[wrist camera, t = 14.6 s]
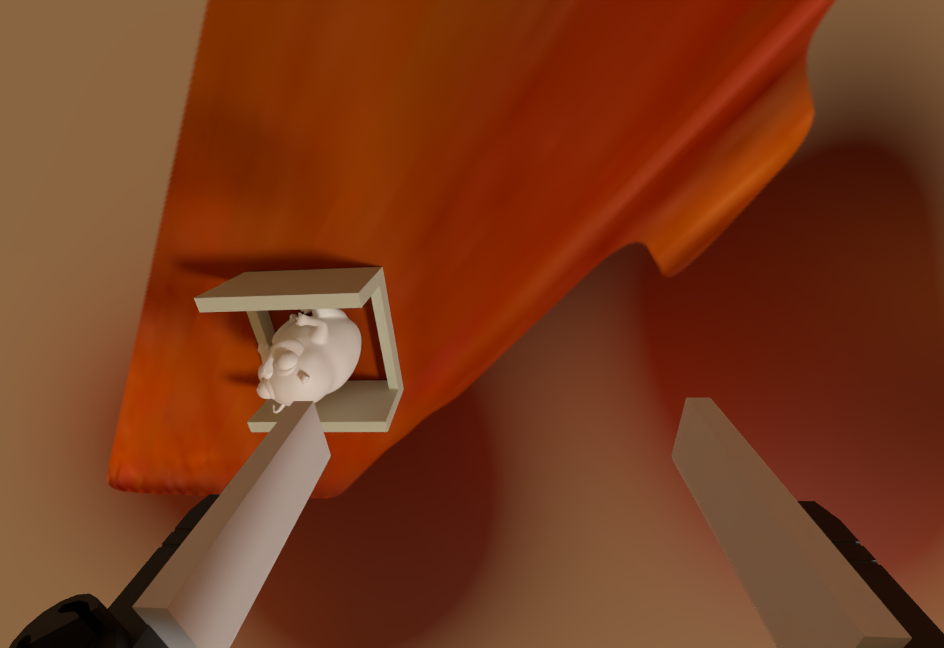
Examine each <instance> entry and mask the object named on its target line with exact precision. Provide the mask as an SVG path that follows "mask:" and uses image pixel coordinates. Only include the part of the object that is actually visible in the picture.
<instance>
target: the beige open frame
mask: <svg viewBox="0 0 944 648" xmlns="http://www.w3.org/2000/svg"><path fill="white" fill-rule="evenodd" d="M370 297H371V299H372V304H373V309H374V314H375V319H376V325H377V330H378V335H379V340H380V345H381V350H382V355H383V361H384V366H385V371H386V376H387V380H366V381H346V382H345V383H344V384H343V385H342V386H341V387H340V388H338V389H337V390H335V391H334V392H331V393H329V394H326V395H325V396H324V397H323V398H322V399H320V400H319V401H317V402H316V403H314V404H315V407H316V410H317V413H318V417H319V420H320V423H321V426H322V429H323V432H388V429H389V427H390V424H391V422H392V419H393V416H394V414H395V411H396V408H397V406H398V403H399V400H400V398H401V395H402V392H403V390H404V389H403V383H402V377H401V371H400V366H399V360H398V354H397V348H396V342H395V337H394V331H393V325H392V319H391V314H390V308H389V302H388V296H387V290H386V285H385V279H384V273H383V267H364V268H337V269H311V270H284V271H258V272H244V273H242V274H240V275H238V276H236V277H234V278H232V279H230V280H228V281H226V282H224V283H223V284H221V285H219V286H217V287H215V288H213V289H211V290H209V291H207V292H205V293H203V294H201V295H199V296H197V297H195V298H194V300H195V302H196V305H197V307H198V309H199V312H229V311H246V312H247V315H248V318H249V320H250V323H251V326H252V329H253V331H254V334H255V337H256V339H257V342H258V345H259V343H260V344H262V343H264V344H265V345H268V346H269V348H268V349H269V351H270V348H271V346H272V345H273V344H272V338H273V336H274V334H275V330H274V327H273V324H272V321H271V318H270V315H269V312H268V310H298V309H333V308H362V306H363V305H364V304H365V303H366V302H367V300H368V299H369V298H370ZM273 404H274V406H275V409H274V410H275V411H276V410H278V408H279V407H280V406H281V405H282V404H280V403H278V402H276V401H275V400H274V399H272V398H271V399H267V400H266V401H265V403H264V404H263V405H262V406H261V407H260V408H259V409H258V410H257V412H256V413H255V414H254V415H253V416H252V417H251V418H250V419H249V421H248V422H247V423H248V426H249V428H250V430H251V432H270V431H271V429H272V428H273V427H274V425H275V424H276V423H277V422H278V420H279V419H280V418H281V417H282V415H283V414H284V413H285V411H286V410H287V409H288V408H289V406H286V405H285V407H284V408H283V409H282V410H281V411H280V412H279V413H274V412H273V410H272V407H273Z"/></svg>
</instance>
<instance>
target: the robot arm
mask: <svg viewBox="0 0 944 648" xmlns="http://www.w3.org/2000/svg"><path fill="white" fill-rule="evenodd" d="M330 457H331V455H330V452H329V448H328V445H327V442H326V439H325V436H324V433H323V429H322V426H321V423H320V420H319V417H318V413H317V410H316V407H315V404H314V401H293V403H292V404H291V405H290V406H289V408H288V409H287V410H286V411H285V413H284V414H283V415H282V417H281V418H280V419H279V420H278V422H277V423H276V424H275V425H274V427H273V428H272V429H271V431H270V432H269V433H268V434H267V436H266V437H265V438H264V439H263V441H262V442H261V443H260V445H259V446H258V447H257V448H256V450H255V451H254V452H253V453H252V455H251V456H250V457H249V459H248V460H247V461H246V462H245V464H244V465H243V466H242V468H241V469H240V470H239V471H238V473H237V474H236V475H235V476H234V478H233V479H232V480H231V482H230V483H229V484H228V485H227V487H226V488H225V489H224V490H223V492H222V493H221V494H220V495H214V494H210V495H208V496H207V497H206V498H205V499H203V500H202V501H201V502H200V503H199V504H197V505H196V506H195V507H193V508H192V509H191V510H190V511H189V512H188V513H187V514H186V516H185V517H184V518H183V519H182V520H181V522H180V523H179V524H178V525H177V526H176V528H175V531H174V532H171V534H170V535H169V536H168V537H167V538H166V540H165V541H164V542H163V543H162V547H161V548H158V549H157V550H156V552H155V553H154V554H153V555H152V556H151V558H150V559H149V560H148V561H147V562H146V564H145V565H144V566H143V567H142V568H141V570H140V571H139V572H138V573H137V575H136V576H135V577H134V578H133V579H132V581H131V582H130V583H129V584H128V585H127V586H126V588H125V589H124V590H123V591H122V593H121V594H120V595H119V596H118V597H117V598H116V600H115V601H114V602H113V603H112V604H111V606H110V607H109V608H108V609H107V608H106V607H105V606H104V605H103V604H102V603H101V602H100V601H99V600H98V599H97V598H96V597H94V596H93V595H91V594H83V595H82V594H81V595H75V596H73V597H70V598H68V599H65V600H63V601H61V602H59V603H57V604H56V605H54V606H53V607H51V608H49V609H48V610H46V611H44V612H43V613H42V614H40V615H39V616H38V617H37V618H36V619H34V620H33V621H32V622H31V623H30V624H29V625H27V626H26V627H25V628H24V629H23V631H22V632H21V633H20V634H19V635H18V636H17V638H16V639H15V640H14V641H13V642H12V644H11V645H10V647H9V648H230V646H231V644H232V642H233V640H234V638H235V636H236V635H237V633H238V631H239V629H240V627H241V625H242V623H243V621H244V619H245V617H246V616H247V614H248V612H249V610H250V608H251V606H252V604H253V602H254V600H255V598H256V597H257V595H258V593H259V591H260V589H261V587H262V585H263V583H264V582H265V580H266V578H267V576H268V574H269V572H270V570H271V568H272V566H273V565H274V563H275V561H276V559H277V557H278V555H279V553H280V551H281V549H282V547H283V545H284V544H285V542H286V540H287V538H288V536H289V534H290V532H291V530H292V528H293V527H294V525H295V523H296V521H297V519H298V517H299V515H300V513H301V512H302V510H303V508H304V506H305V504H306V502H307V500H308V498H309V496H310V494H311V493H312V491H313V489H314V487H315V485H316V483H317V481H318V479H319V477H320V476H321V474H322V472H323V470H324V468H325V466H326V464H327V462H328V460H329V458H330ZM671 458H672V460H673V462H674V463H675V465H676V467H677V469H678V470H679V472H680V474H681V476H682V478H683V480H684V481H685V483H686V485H687V487H688V488H689V490H690V492H691V494H692V496H693V498H694V499H695V501H696V503H697V505H698V506H699V508H700V510H701V512H702V514H703V515H704V517H705V519H706V521H707V522H708V524H709V526H710V528H711V530H712V532H713V533H714V535H715V537H716V539H717V541H718V542H719V544H720V546H721V548H722V549H723V551H724V553H725V555H726V557H727V558H728V560H729V562H730V564H731V566H732V568H733V569H734V571H735V573H736V575H737V576H738V578H739V580H740V582H741V583H742V585H743V587H744V589H745V591H746V592H747V594H748V596H749V598H750V600H751V602H752V603H753V605H754V607H755V609H756V611H757V612H758V614H759V616H760V618H761V619H762V621H763V623H764V625H765V627H766V628H767V630H768V632H769V634H770V635H771V637H772V639H773V641H774V643H775V644H776V646H777V648H944V634H943V632H941V630H940V629H939V628H938V627H937V626H936V625H935V624H934V623H933V622H932V620H931V619H930V618H929V617H928V616H927V615H926V614H925V613H924V612H923V611H922V609H921V608H920V607H919V606H918V605H917V604H916V603H915V602H914V601H913V600H912V599H911V597H909V595H908V594H907V593H906V592H905V591H904V590H903V589H902V588H901V587H900V585H899V584H898V583H897V582H896V581H895V580H894V579H893V578H892V577H891V575H889V573H888V572H887V571H886V570H885V569H884V568H883V567H882V566H881V565H878V564H877V562H876V559H875V558H874V557H873V556H872V555H871V554H870V553H869V551H868V550H867V549H866V548H865V547H864V546H861V545H860V542H859V541H858V539H857V538H856V537H855V536H854V535H853V534H852V533H851V532H850V531H849V529H848V528H847V527H846V526H845V525H844V524H843V523H842V522H841V521H840V520H839V519H838V518H837V517H835V516H834V515H832V514H831V513H830V512H828V511H827V510H826V509H824V508H823V507H821V506H820V505H819V504H817V503H816V502H815V501H796V499H795V498H794V497H793V496H792V495H791V493H790V492H789V491H788V490H787V489H786V488H785V486H784V485H783V484H782V483H781V481H780V480H779V479H778V478H777V477H776V476H775V475H774V473H773V472H772V471H771V470H770V468H769V467H768V466H767V465H766V464H765V463H764V461H763V460H762V459H761V458H760V457H759V455H758V454H757V453H756V452H755V451H754V449H753V448H752V447H751V446H750V445H749V443H748V442H747V441H746V440H745V439H744V437H743V436H742V435H741V434H740V433H739V432H738V430H737V429H736V428H735V427H734V426H733V424H732V423H731V422H730V421H729V420H728V418H727V417H726V416H725V415H724V414H723V413H722V411H721V410H720V409H719V408H718V407H717V406H716V404H715V403H714V402H713V401H712V400H711V398H686V401H685V405H684V409H683V413H682V417H681V421H680V425H679V429H678V432H677V436H676V440H675V444H674V448H673V452H672V456H671Z"/></svg>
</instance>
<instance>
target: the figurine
mask: <svg viewBox="0 0 944 648" xmlns="http://www.w3.org/2000/svg"><path fill="white" fill-rule="evenodd" d="M301 311H304V314H302V313H299V312H298V316H297V315H296V314H290V320H289V321H287V322H286V323H285V324H283V325H282V326H281V327H280V328H279V329H278V331H277V332H276V333H275V334H274V336H273V338H272V344H273V345H272V346H271V348H270V351H269V349H268V348H269V346H268V345H265V344H264V343H262V344H260V343H259V345H258V352H259V353H260V355H261V359H262V363H263V364H261V365H260V367H259V369H258V377H259V380H260V383H259V385H258V387H257V393H258V395H259V396H260V397H262V398H264V399H271V398H272V399H274V400H275V401H276V402H278V403H280V404H282V405H281V406H280V407H279V408H278V410H276V411H275V410H274V409H275V406H274V404H273V407H272V410H273V412H274V413H279V412H280V411H281V410H282V409H283V408H284V407H285V405H286V406H290V405H291V404H292V403H293V401H314V403H316V402H317V401H319V400H320V399H322V398H323V397H324V396H325V395H326V394H329V393H331V392H334V391H335V390H337V389H338V388H340V387H341V386H342V385H343V384H344V383H345V382H346V381H347V380H348V378H349V377H350V376H351V374H352V373H353V371H354V369H355V367H356V365H357V362H358V360H359V356H360V351H361V335H360V331H359V329H358V327H357V325H356V324H355V323H354V322H352V321H351V320H350V319H349V318H348V317H347V316H346V314H345V313H344V312H343V311H342V310H340V309H339V308H333V309H301ZM311 311H312V314H313V316H307V315H305V314H306V313H309V312H311Z"/></svg>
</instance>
